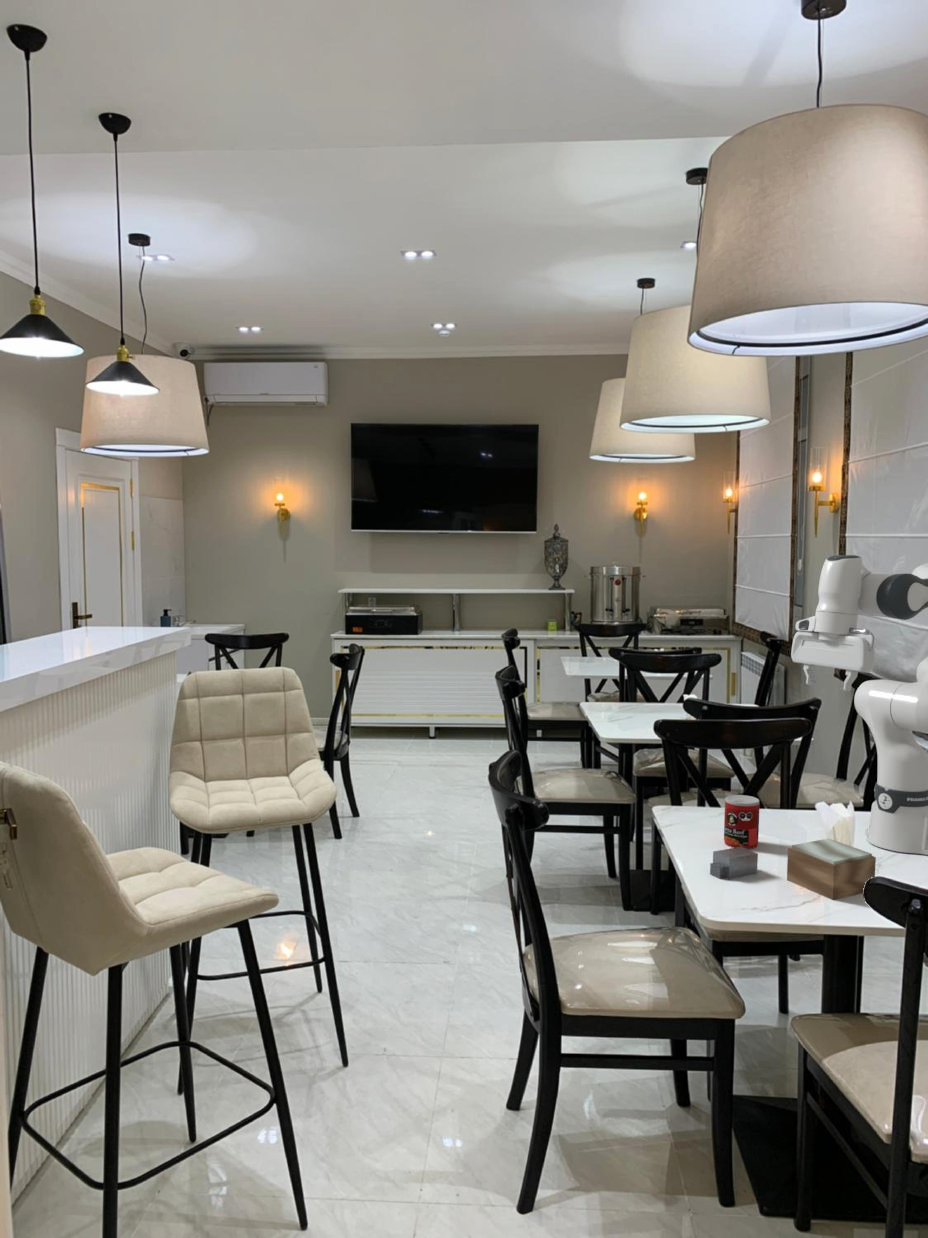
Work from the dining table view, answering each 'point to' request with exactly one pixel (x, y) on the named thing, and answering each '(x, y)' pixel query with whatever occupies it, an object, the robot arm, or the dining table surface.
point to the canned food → (741, 821)
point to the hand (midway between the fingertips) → (827, 687)
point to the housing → (734, 863)
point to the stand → (830, 868)
